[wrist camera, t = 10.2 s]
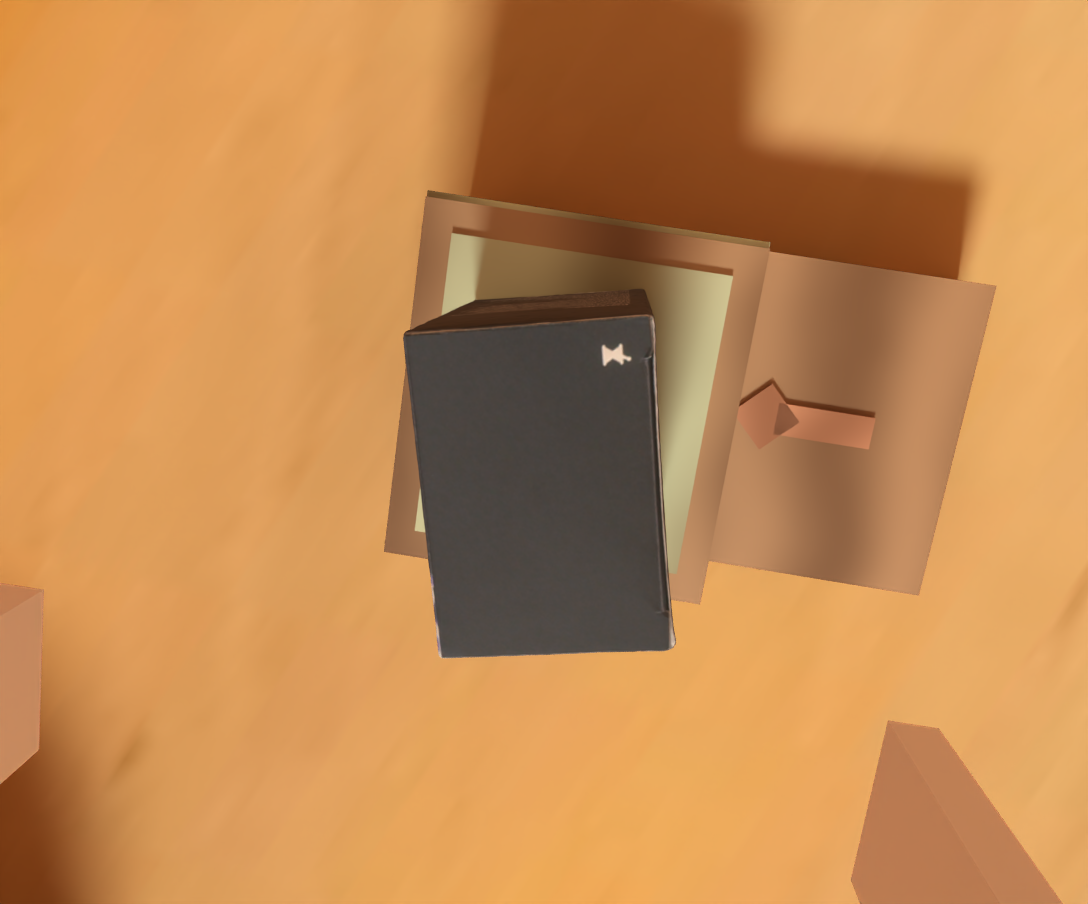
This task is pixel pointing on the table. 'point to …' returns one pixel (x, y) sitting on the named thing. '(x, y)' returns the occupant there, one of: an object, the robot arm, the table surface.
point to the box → (542, 475)
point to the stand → (742, 385)
